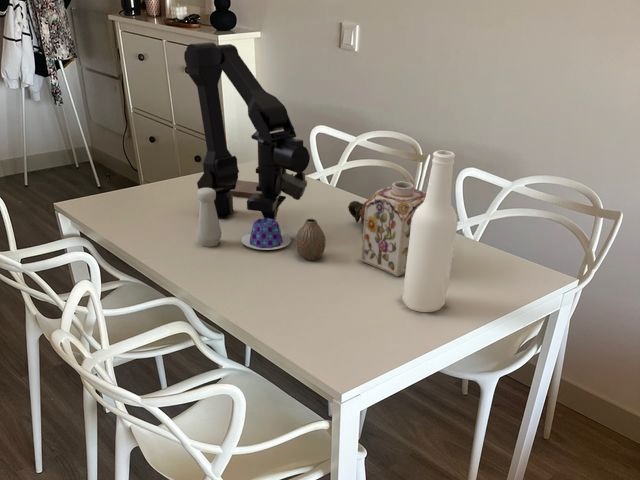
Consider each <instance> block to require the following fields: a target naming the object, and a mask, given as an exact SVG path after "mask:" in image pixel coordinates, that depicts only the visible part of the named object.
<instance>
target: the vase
mask: <svg viewBox="0 0 640 480" xmlns="http://www.w3.org/2000/svg"><path fill="white" fill-rule="evenodd" d="M295 249H296V252H297V254H298V255H299V256H300V258H302V259H303V260H306V261H315V260H318V259H319V258H320V257H321V256H323V254H324V252H325V249H326V236H325V232H324V231H323V229H322V228H321V226H320V225H319V223H318V221H317V219H316V218H306V220H305V221H304V223H303V225H302V226H301V227H300V228H299V229H298V231H297V234H296V237H295Z"/></svg>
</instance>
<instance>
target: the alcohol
mask: <svg viewBox="0 0 640 480" xmlns="http://www.w3.org/2000/svg"><path fill="white" fill-rule="evenodd" d="M432 156H433V157H432V159H431V162H432V165H431V169H430V174H429V179H428V184H427V188H426V198H425V200H424V202H423V203H422V204H421V205H420V206H419V207H418V208H417V209H416V211H415V212H414V215H413V218H412V222H411V230H410V239H409V247H408V255H407V264H406V272H405V274H404V282H403V289H402V297H401V298H402V301H403V303H404V305H405V306H406V308H409V309H410V310H412V311H415V312H420V313H434V312H437V311H439V310H440V309H442V308H443V306H445V303H446V298H447V291H448V285H449V281H450V273H451V268H452V261H453V254H454V251H455V250H454V248H455V244H456V243H455V242H456V237H457V231H458V225H459V223H458V215H457V212H456V210H455V208H454V207H453V205H452V202H451V198H452V197H451V195H452V185H453V182H452V181H453V170H454V164H455V158H456V154H455V152H453V151H450V150H444V149H442V150H441V149H439V150H435V151H434V152H433V153H432Z"/></svg>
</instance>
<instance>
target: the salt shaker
mask: <svg viewBox="0 0 640 480" xmlns="http://www.w3.org/2000/svg"><path fill="white" fill-rule="evenodd" d="M196 192H197V193H196V197H197V200H198V201H199V208H198V209H199V210H198V222H197V233H196V236H197V239H198V240H199V242H200V243H201V245H202V247H207V248H211V247H217V246H218V245H219V242H220V240H221V239H222V228H221V225H220V221H219V218H218V216H217V212H216V208H215V204H214V200H215V199H216V192H215V190H214V189H212V188H201V189H197V191H196Z"/></svg>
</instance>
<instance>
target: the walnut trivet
mask: <svg viewBox="0 0 640 480" xmlns="http://www.w3.org/2000/svg"><path fill="white" fill-rule="evenodd" d="M258 184H259V181H258V182H257V181H249V180H239V179H238V180H237V183H236V188H235V189H234V190H233V189H232V190H230V191H231V196H232V197H237V198H245V199H249V198H250V197H251V196H252V195H253V194H254V193H260V194H262V192H261V191H256V186H257V185H258Z"/></svg>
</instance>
